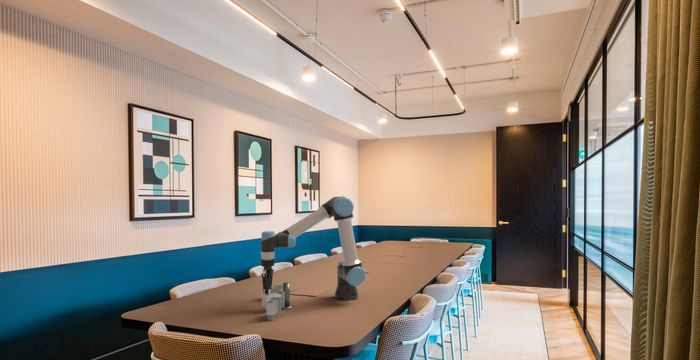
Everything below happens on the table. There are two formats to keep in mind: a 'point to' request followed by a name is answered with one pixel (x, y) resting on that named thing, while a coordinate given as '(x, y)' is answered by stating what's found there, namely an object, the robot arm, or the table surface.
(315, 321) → the table surface
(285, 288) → the riser post
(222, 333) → the table surface
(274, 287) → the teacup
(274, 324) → the table surface
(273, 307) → the duct stub
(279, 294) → the elbow
